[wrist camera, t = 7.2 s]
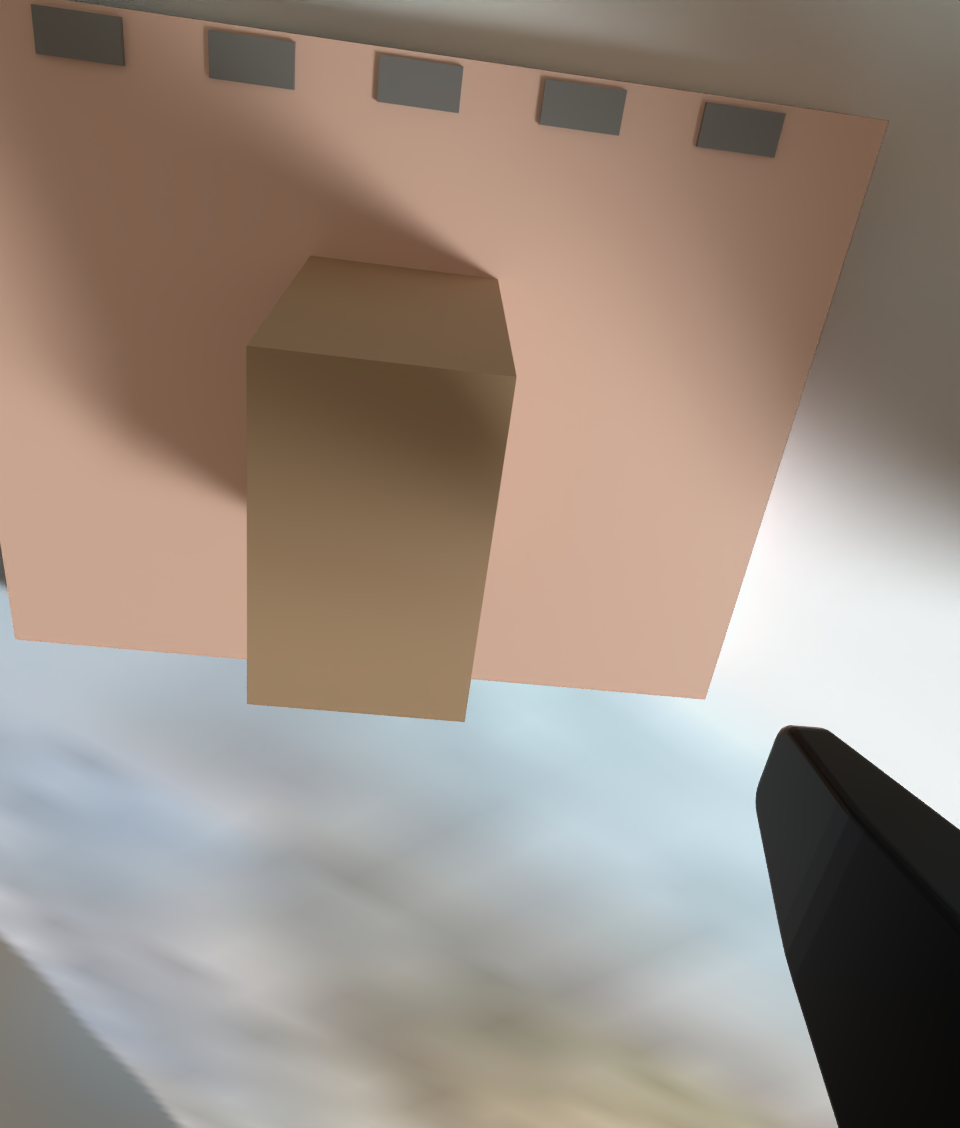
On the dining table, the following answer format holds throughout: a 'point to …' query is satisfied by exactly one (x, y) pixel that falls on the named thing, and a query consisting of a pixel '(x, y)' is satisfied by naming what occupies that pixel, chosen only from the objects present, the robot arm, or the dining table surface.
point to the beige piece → (395, 355)
